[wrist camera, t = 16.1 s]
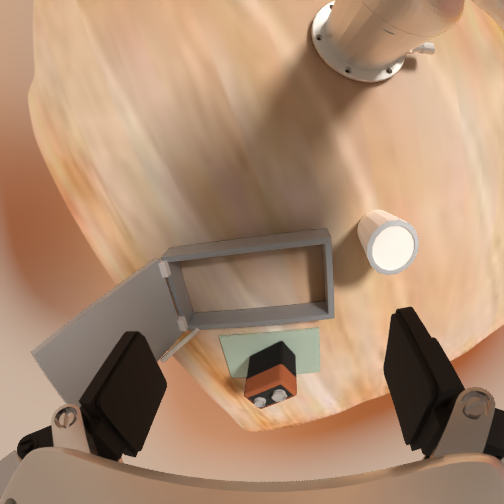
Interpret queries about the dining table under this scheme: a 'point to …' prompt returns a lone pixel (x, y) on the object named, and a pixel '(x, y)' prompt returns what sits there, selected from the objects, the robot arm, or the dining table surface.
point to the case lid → (109, 331)
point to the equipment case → (246, 316)
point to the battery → (271, 376)
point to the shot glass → (387, 241)
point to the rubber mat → (247, 345)
